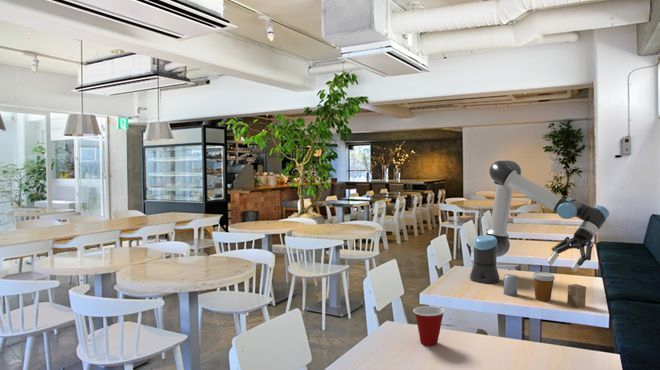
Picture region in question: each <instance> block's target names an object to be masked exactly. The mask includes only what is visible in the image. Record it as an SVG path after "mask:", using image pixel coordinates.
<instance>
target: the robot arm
mask: <svg viewBox="0 0 660 370" xmlns="http://www.w3.org/2000/svg"><path fill="white" fill-rule="evenodd" d="M489 177H490V179H492V180H493V181H494V182H493V184H494V186H495V194H494V201H493V205H492V213H491V214H492V215H491V219H490V220H491V221H490V226H489V227H490V228H489V229H487V230H486V234H484V235H478V236H476V237H475V238H474V240H473V265H472V268H471V270H470V274H469V280H470V281H472V280H473V281H472V282H476V283H481V284H496V283H497V284H498V283H499V282H500V275H499V271H498V267H497V258H498V257H499V258H500V257H503V256H505V254H507V253H508V251H509V250H510V248H511V247H510V246H511V245H510V244H511V242H510V240H509V237H510V236H509V233H508V232H507V228H508V221H509V216H510V210H511V203H512V198H513V197H512V196H513V191H517V192H519V193H520V194H522V195H524V196H526V197H527V198H529V199H531V200H533V201H534V202H537V203H538V204H540V205H541V206H544V207H545V208H547V209H549V210H551V211H553V212H554V213H556V214H557V215H558V216H559V217H560V218H562V219H563V220H570V219H573V218H578V219H579V220H582V223H581V224H580V225H579V226H578V228H577V229H576V230H575V232H574V234H573V237H572V238H570V237H569V236H566V237H565V238H564V239H563V240H561V241H560V242H559V243H557V244H556V245H554V246H553V247H551V251H552V253H551V255H550V257H549V258H548V260H547V264H549V266H553V264H554V263H555V261H556V260H557V259H558V257H559V256H560V255H559V254H561V253H563V252H566V251H567V250H572V249H576V250H579V252H580V256H578V258H577V259H576V260H575V262H574V263H573V265H572V266H571V269H572V271H574V272H577V271H578V269H579V268H580V267H581V266H582V265H583V264H584V263H585V262H586V261H591V259H592V250H593V247H594V246H595V245H594V243H593V242H592V240H593V238H594V237H595V236H596V234H597V233H598V232H599V230H600V229H601V228H602V226H603V225H604V224H605V222H606V221H607V219H608V218H609V216H610V212H609V210H608V209H607V208H606V206H604V205H599V204H596V205H595V206H593V207H592V206H589V205H588V204H585V203H583V202H581V201H579V200H577V199H576V198H572V197H567V198H566V199H565V198H563V197H561V196H559V195H558V194H556V193H554V192H552V191H550V190H548V189H547V188H545V187H543V186H541V185H539V184H537V183H535V182H534V181H531V180H529V179H528V178H526V177H524V176H522V168H521V166H520V165H519V164H518V163H517V162H515V161H513V160H508V159H507V160H497V161H494V163H492V164H491V165H490V167H489ZM585 247H586V248H585Z"/></svg>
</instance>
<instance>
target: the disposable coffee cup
mask: <svg viewBox="0 0 660 370" xmlns="http://www.w3.org/2000/svg"><path fill="white" fill-rule="evenodd" d="M531 276H532V280H533V286H534V287H533V288H534V297H535V298H534V299H535V300H536V301H538V302H550V301H551V299H552V292H553V288H554V287H553V286H554V281H555V279H556V278H555V275H554V274H553V273H551V272H546V271H534V272H533V274H532V275H531Z"/></svg>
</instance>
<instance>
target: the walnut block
mask: <svg viewBox="0 0 660 370" xmlns="http://www.w3.org/2000/svg"><path fill="white" fill-rule="evenodd" d="M586 293H587V286H585V285H581V284H578V283H573V284H572V283H571V284H568V285H567V298H566V299H567V301H566V303H567V305H568V306H569V305H570V307H572V306H573V308H575V307H576V308H575V309H579V307H581V308H586V299H587V298H586V297H587V294H586Z"/></svg>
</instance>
